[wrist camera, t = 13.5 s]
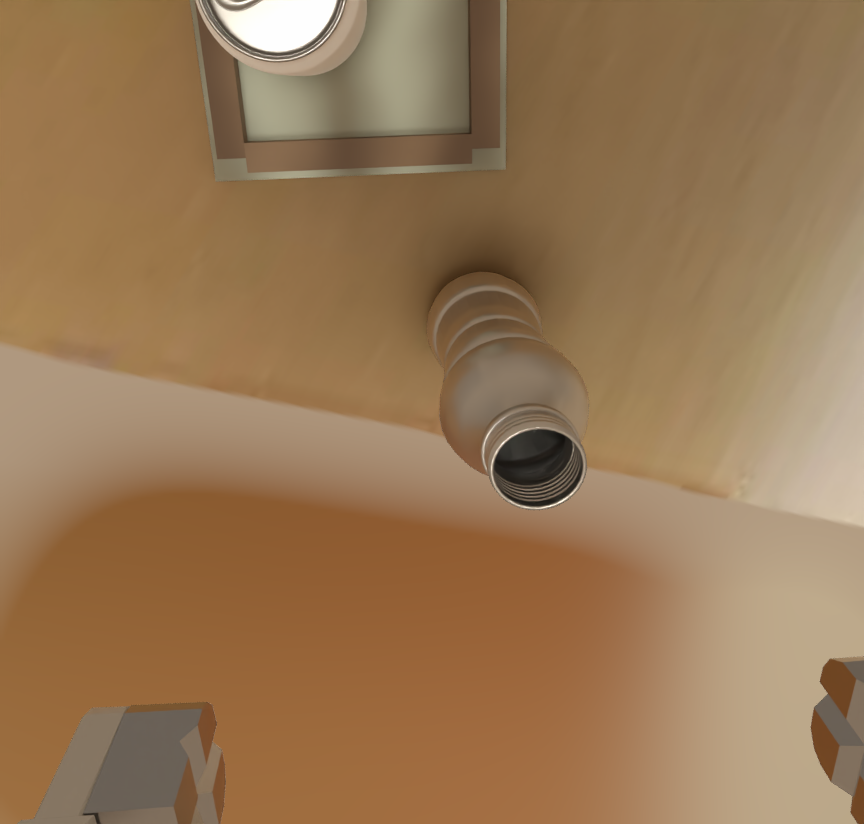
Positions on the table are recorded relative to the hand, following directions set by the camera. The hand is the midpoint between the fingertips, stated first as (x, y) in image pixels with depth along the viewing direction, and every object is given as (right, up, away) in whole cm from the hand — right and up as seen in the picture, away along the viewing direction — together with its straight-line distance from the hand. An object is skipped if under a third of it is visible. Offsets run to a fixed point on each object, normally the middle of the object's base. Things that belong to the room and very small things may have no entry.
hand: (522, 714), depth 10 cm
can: (-8, +25, +29) cm, 39 cm away
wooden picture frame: (-5, +25, +29) cm, 39 cm away
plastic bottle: (+2, +10, +36) cm, 38 cm away
